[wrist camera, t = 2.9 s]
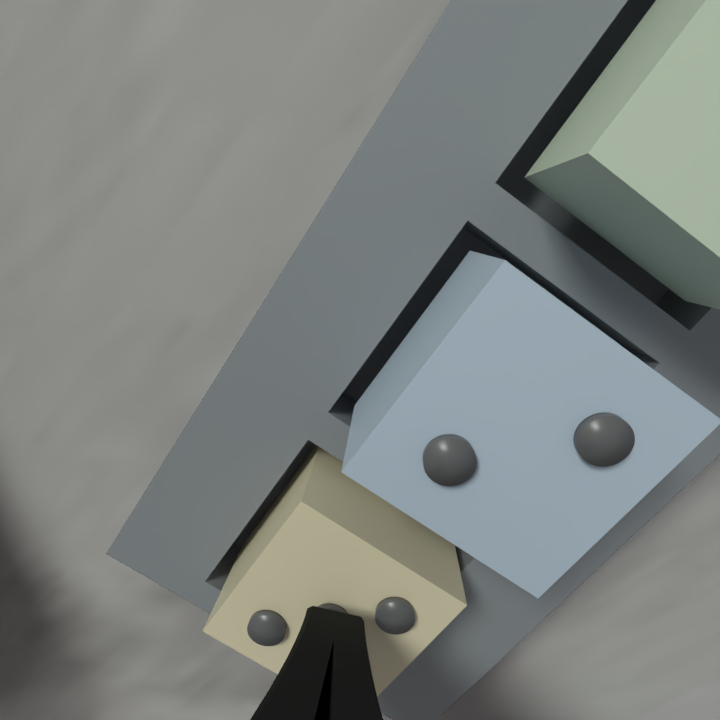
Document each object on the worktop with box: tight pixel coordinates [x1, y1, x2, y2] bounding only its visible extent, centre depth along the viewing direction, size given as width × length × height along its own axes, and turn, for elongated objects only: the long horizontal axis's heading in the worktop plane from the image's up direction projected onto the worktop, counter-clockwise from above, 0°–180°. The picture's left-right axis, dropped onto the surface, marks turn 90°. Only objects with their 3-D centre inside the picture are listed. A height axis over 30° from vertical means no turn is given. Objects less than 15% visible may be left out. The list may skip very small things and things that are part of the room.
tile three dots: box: [203, 445, 467, 697], centre depth 13 cm, size 5×5×4 cm
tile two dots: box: [341, 251, 720, 598], centre depth 10 cm, size 5×5×4 cm
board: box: [106, 0, 720, 720], centre depth 13 cm, size 12×22×2 cm, turn 146°
